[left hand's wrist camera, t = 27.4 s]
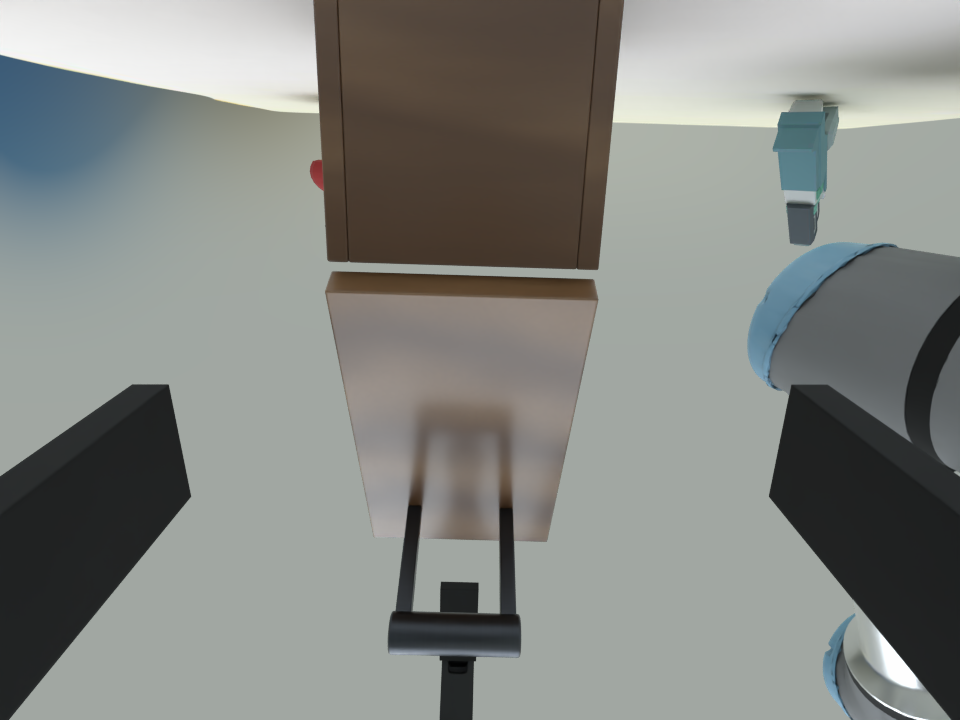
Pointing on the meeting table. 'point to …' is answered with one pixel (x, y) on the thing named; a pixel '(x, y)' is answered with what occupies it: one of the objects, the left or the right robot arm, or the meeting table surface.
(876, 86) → the meeting table surface
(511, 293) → the lid
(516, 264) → the chest
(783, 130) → the toy gun
